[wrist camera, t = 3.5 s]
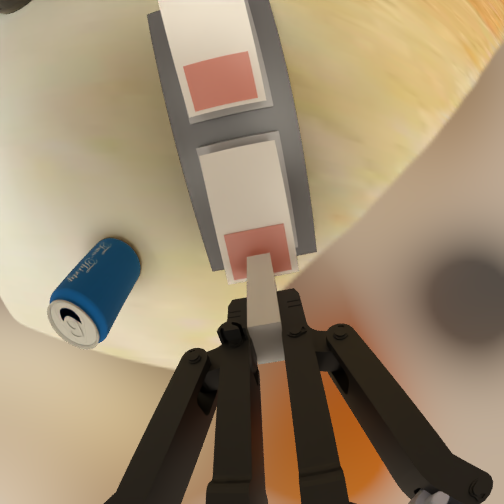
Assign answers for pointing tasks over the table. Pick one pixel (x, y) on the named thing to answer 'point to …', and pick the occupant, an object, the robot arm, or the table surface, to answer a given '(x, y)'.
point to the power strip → (240, 129)
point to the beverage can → (94, 293)
